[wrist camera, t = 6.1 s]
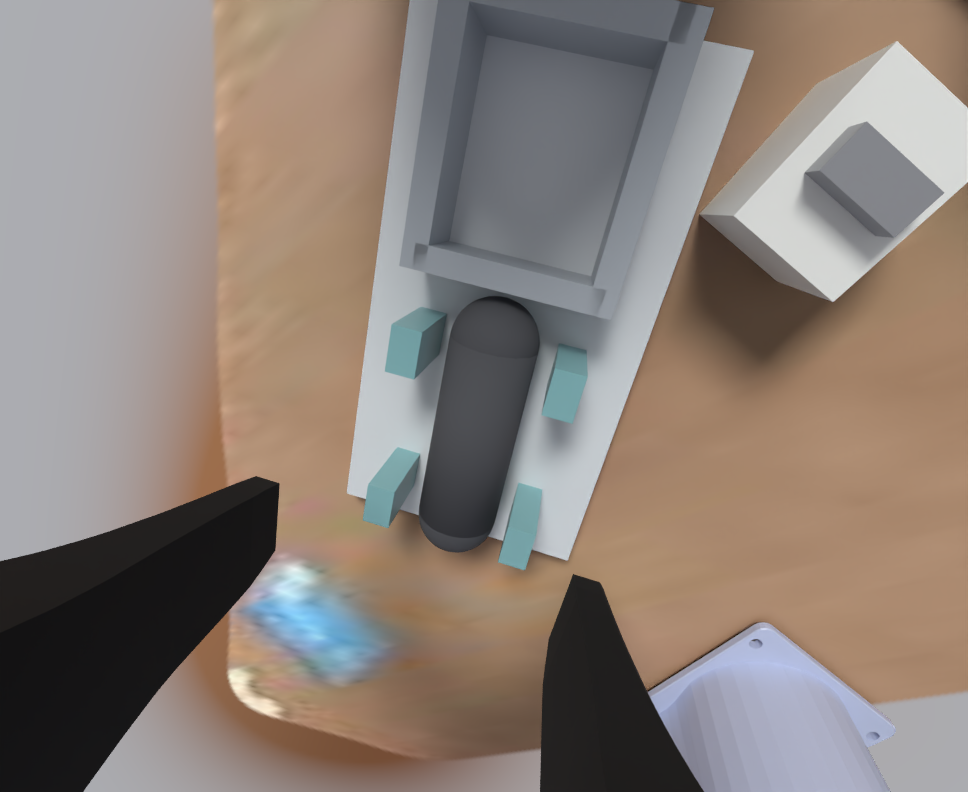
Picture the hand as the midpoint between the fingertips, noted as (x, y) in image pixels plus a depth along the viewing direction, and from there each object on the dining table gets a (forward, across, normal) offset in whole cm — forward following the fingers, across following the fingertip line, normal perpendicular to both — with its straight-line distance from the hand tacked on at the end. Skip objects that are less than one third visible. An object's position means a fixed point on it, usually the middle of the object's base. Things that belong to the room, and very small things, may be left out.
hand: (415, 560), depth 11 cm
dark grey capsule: (+8, 0, 0) cm, 8 cm away
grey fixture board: (+9, 0, -4) cm, 10 cm away
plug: (+9, -8, -10) cm, 16 cm away
